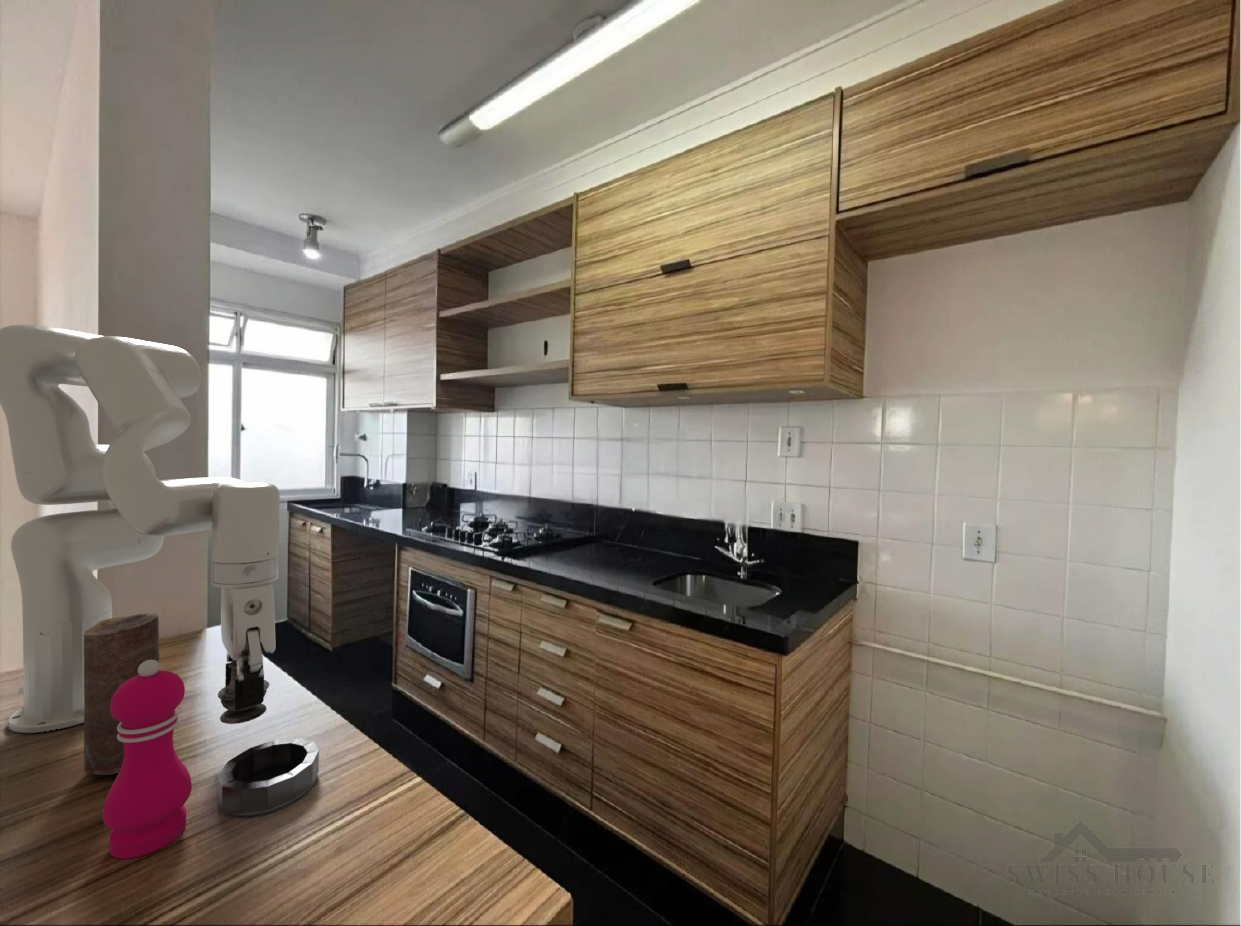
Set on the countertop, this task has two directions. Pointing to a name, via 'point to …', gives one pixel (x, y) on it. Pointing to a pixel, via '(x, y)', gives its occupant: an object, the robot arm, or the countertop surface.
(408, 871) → the countertop surface
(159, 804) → the pepper mill
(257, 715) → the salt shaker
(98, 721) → the candle
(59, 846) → the countertop surface
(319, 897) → the countertop surface
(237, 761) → the dark gray faceted bowl
